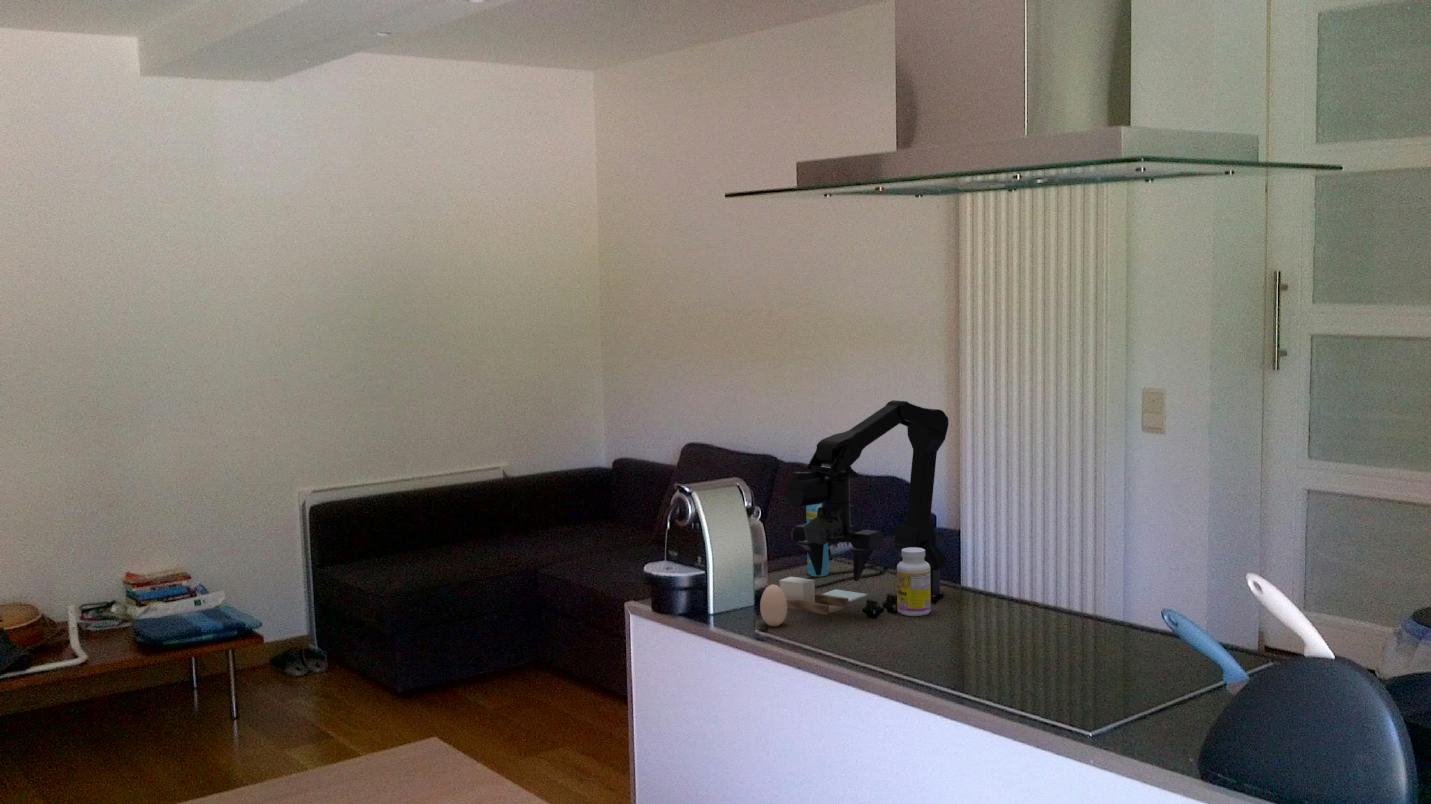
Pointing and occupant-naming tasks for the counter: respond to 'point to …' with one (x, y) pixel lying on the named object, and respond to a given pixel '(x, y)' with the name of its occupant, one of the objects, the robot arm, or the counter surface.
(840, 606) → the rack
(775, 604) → the egg
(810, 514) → the tube
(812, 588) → the block
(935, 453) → the robot arm
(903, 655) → the counter surface
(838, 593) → the pad
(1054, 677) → the counter surface
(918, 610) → the supplement bottle
